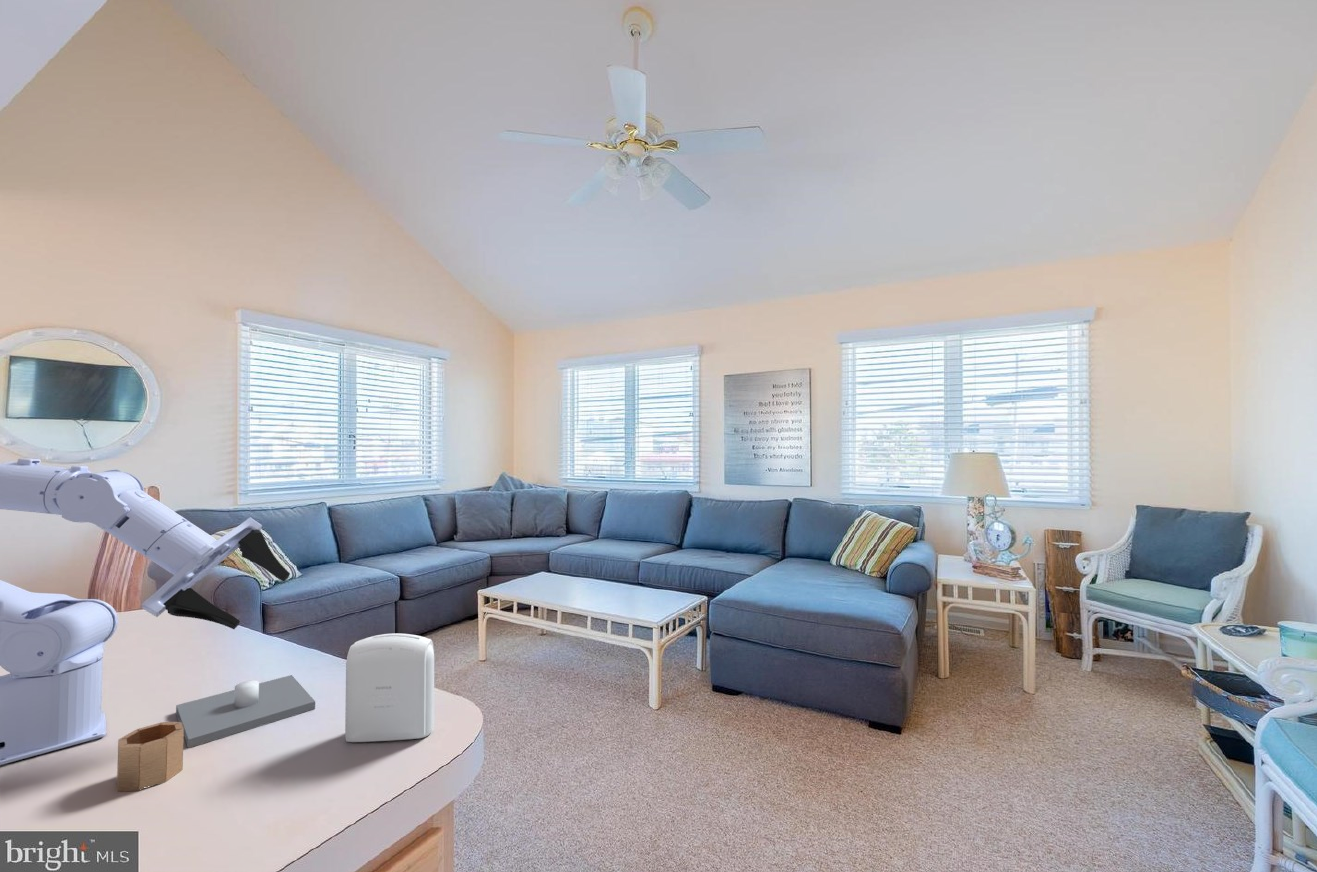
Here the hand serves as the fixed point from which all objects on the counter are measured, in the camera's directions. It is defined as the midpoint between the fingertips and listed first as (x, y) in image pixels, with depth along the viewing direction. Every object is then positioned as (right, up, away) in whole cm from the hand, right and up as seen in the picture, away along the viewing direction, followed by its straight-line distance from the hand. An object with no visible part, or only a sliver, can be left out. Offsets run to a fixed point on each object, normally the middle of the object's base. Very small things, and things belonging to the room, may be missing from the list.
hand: (263, 600), depth 70 cm
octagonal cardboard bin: (-2, -15, -13) cm, 20 cm away
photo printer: (+19, -16, -4) cm, 25 cm away
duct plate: (-3, -15, +1) cm, 16 cm away
